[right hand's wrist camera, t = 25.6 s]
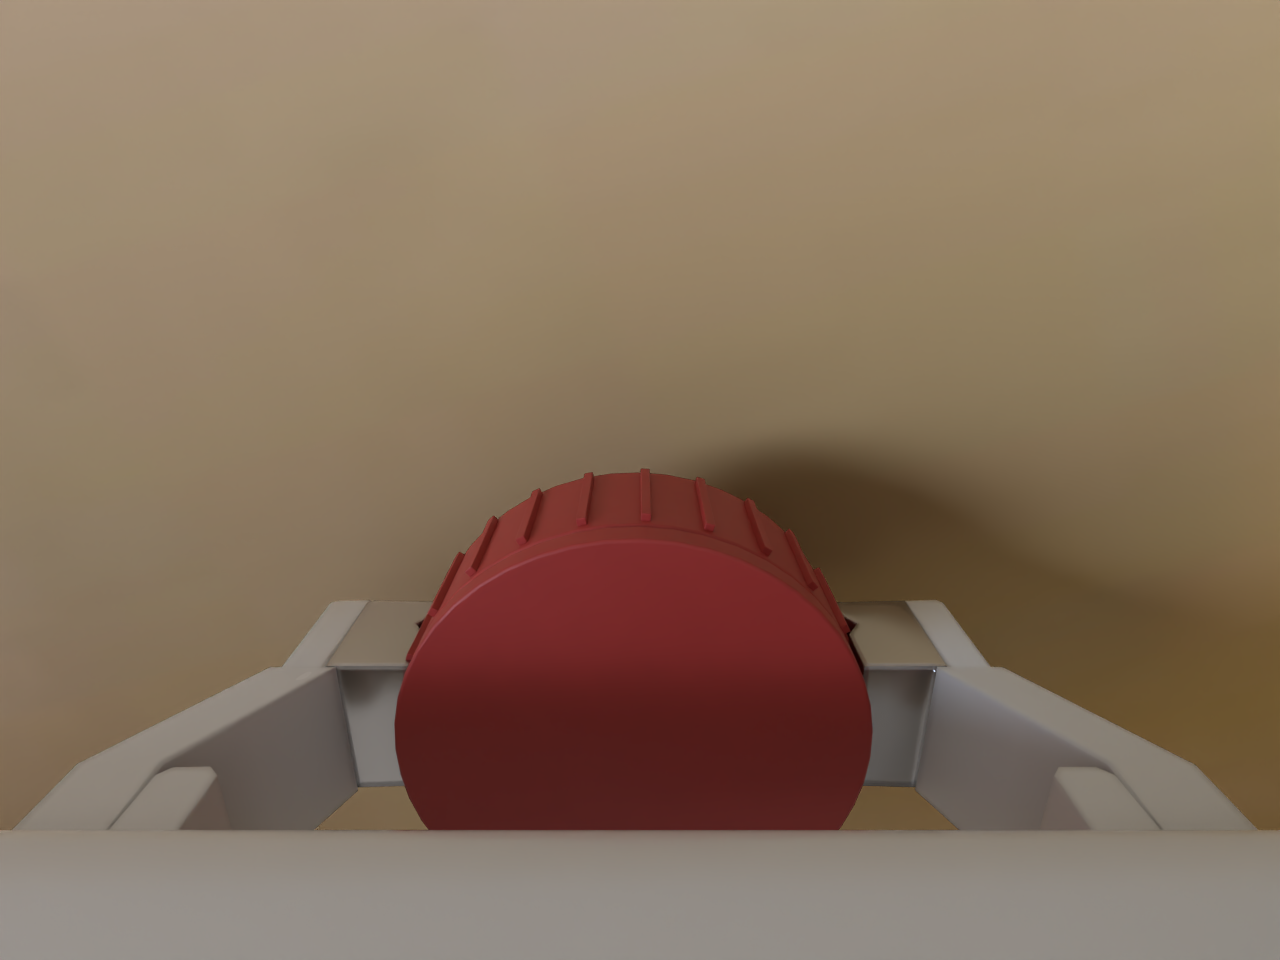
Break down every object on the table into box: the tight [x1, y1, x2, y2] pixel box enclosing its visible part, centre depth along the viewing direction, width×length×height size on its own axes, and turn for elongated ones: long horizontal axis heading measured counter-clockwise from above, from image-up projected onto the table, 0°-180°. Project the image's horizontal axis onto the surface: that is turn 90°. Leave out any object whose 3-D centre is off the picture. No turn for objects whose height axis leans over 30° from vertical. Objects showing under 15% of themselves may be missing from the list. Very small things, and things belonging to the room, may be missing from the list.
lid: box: [394, 469, 873, 830], centre depth 9 cm, size 6×6×2 cm
